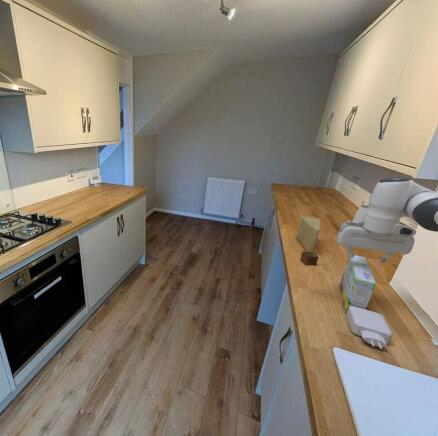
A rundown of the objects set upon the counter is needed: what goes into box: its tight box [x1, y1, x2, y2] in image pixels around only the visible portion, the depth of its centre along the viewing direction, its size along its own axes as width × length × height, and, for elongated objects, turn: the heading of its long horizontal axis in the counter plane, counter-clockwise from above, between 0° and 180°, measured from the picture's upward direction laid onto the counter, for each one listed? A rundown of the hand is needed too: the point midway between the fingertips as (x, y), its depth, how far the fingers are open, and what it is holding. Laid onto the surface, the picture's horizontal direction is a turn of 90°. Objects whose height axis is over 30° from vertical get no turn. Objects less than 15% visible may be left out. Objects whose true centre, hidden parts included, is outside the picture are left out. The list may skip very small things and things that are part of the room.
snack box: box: [339, 254, 377, 315], centre depth 90 cm, size 21×6×15 cm, turn 147°
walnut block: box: [299, 251, 319, 267], centre depth 118 cm, size 5×5×5 cm
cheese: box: [295, 216, 322, 253], centre depth 132 cm, size 22×10×15 cm, turn 154°
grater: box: [351, 199, 370, 222], centre depth 157 cm, size 10×10×20 cm
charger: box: [345, 306, 393, 350], centre depth 76 cm, size 5×9×15 cm
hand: (365, 259), depth 86 cm, fingers open, 8 cm apart
